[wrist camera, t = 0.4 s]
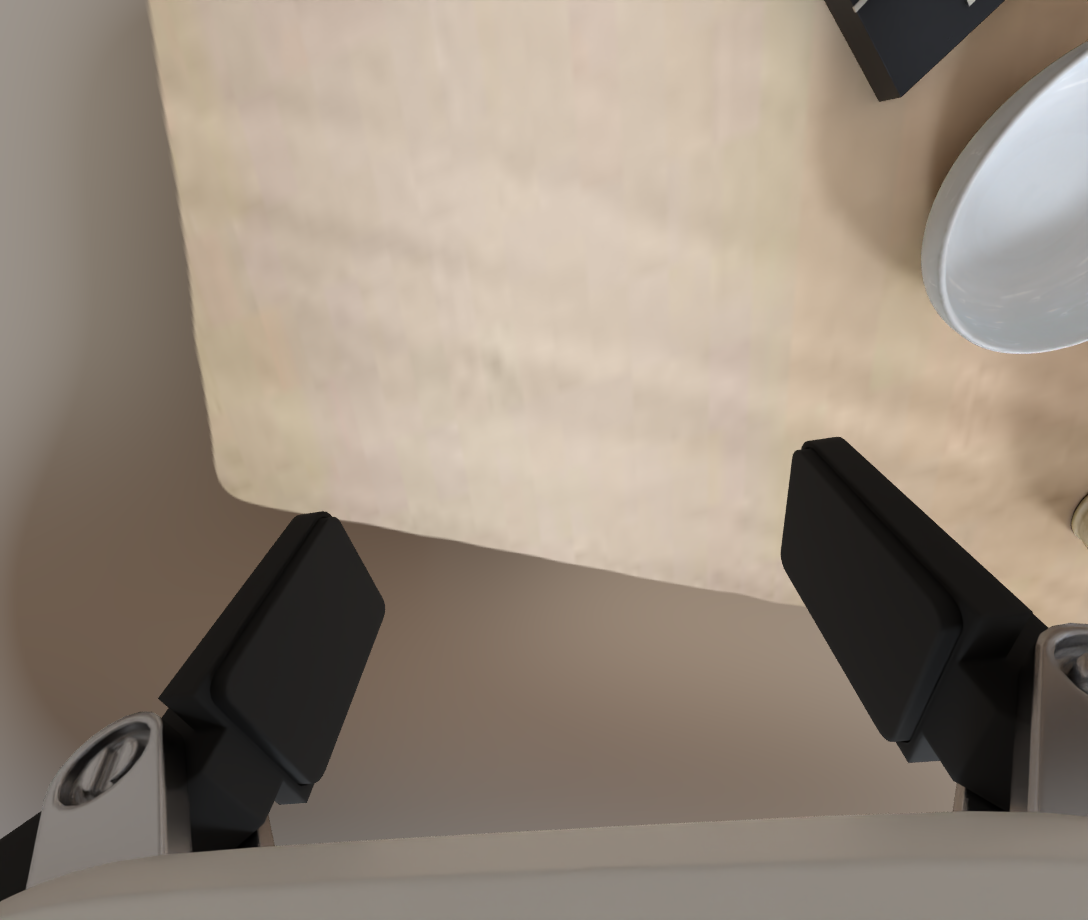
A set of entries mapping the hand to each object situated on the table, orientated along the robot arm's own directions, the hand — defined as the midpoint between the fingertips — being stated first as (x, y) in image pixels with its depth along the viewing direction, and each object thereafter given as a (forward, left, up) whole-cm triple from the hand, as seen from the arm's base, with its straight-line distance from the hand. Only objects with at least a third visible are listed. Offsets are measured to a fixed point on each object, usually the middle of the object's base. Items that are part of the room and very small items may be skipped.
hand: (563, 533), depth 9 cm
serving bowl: (+24, +29, -35) cm, 52 cm away
